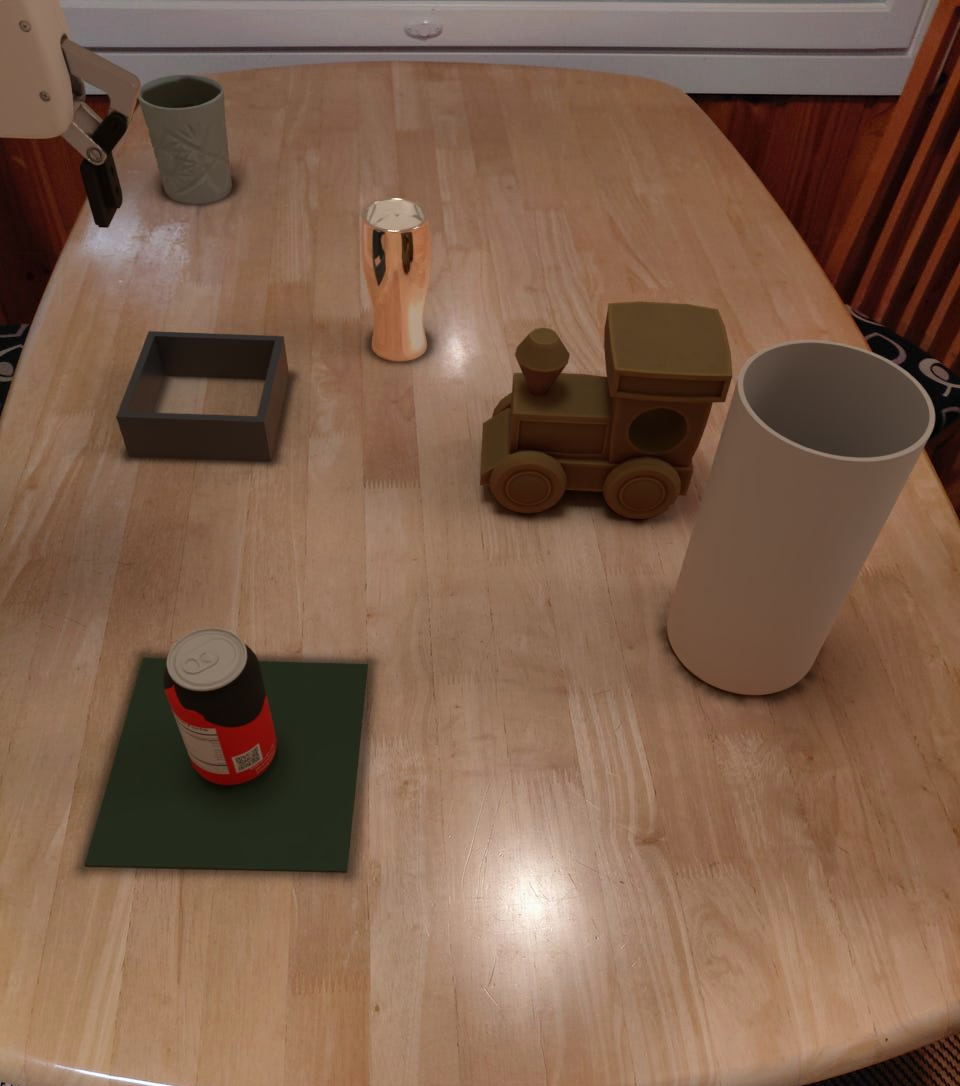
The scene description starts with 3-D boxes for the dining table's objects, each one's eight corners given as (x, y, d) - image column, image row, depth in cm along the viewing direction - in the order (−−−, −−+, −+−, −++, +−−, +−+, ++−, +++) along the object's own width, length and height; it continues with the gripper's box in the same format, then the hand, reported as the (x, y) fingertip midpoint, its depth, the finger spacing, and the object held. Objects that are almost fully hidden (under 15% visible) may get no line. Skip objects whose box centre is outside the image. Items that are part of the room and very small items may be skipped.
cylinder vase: (663, 577, 86) (732, 331, 66) (804, 592, 85) (915, 349, 66) (666, 691, 78) (744, 450, 58) (821, 707, 77) (953, 470, 58)
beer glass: (380, 371, 103) (373, 237, 91) (358, 335, 107) (349, 203, 95) (440, 357, 105) (441, 224, 93) (417, 322, 109) (415, 191, 97)
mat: (85, 867, 66) (84, 865, 66) (144, 660, 78) (143, 657, 77) (347, 873, 67) (346, 871, 67) (367, 666, 78) (367, 663, 78)
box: (129, 458, 93) (115, 416, 89) (159, 372, 101) (148, 330, 97) (271, 463, 93) (264, 421, 89) (289, 377, 101) (283, 335, 98)
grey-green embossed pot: (160, 210, 122) (137, 110, 112) (157, 172, 128) (135, 74, 118) (241, 204, 123) (226, 105, 114) (235, 167, 129) (220, 70, 120)
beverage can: (293, 764, 72) (273, 668, 62) (215, 807, 69) (182, 713, 60) (254, 706, 75) (229, 606, 65) (178, 745, 72) (141, 646, 63)
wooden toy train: (680, 448, 97) (719, 299, 84) (693, 529, 90) (737, 380, 77) (481, 438, 96) (489, 287, 83) (478, 518, 89) (486, 366, 76)
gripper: (-290, -100, 46) (-127, 239, 59) (75, -82, 47) (155, 250, 60) (-218, -143, 51) (-82, 180, 64) (113, -127, 51) (179, 191, 65)
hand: (32, 214), depth 62 cm, fingers open, 9 cm apart
